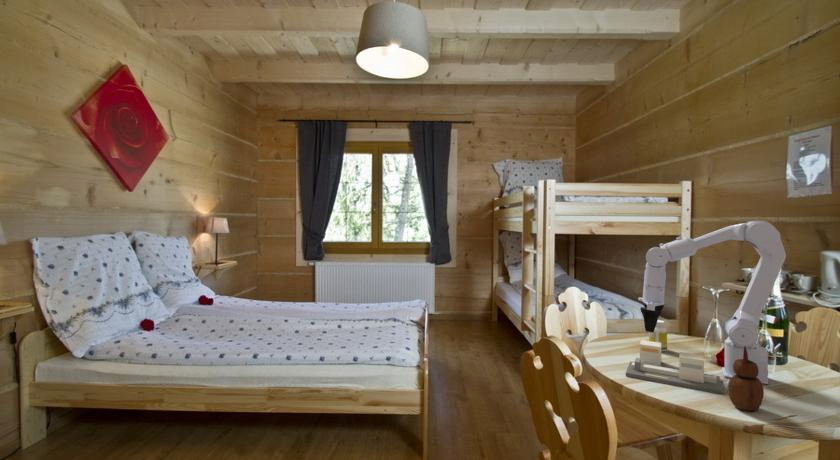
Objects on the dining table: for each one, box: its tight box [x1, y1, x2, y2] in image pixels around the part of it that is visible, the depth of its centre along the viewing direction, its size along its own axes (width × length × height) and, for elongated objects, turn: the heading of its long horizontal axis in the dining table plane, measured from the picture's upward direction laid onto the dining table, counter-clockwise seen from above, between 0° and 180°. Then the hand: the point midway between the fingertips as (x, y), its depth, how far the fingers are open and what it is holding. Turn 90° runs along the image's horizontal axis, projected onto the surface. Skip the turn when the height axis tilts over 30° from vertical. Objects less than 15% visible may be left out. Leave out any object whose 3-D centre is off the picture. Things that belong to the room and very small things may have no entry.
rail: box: [625, 351, 723, 395], centre depth 112 cm, size 22×11×7 cm, turn 56°
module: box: [639, 339, 662, 367], centre depth 124 cm, size 6×5×6 cm
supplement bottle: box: [648, 319, 668, 352], centre depth 137 cm, size 5×5×10 cm
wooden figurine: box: [727, 346, 765, 412], centre depth 93 cm, size 7×6×15 cm
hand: (650, 329), depth 124 cm, fingers open, 7 cm apart
